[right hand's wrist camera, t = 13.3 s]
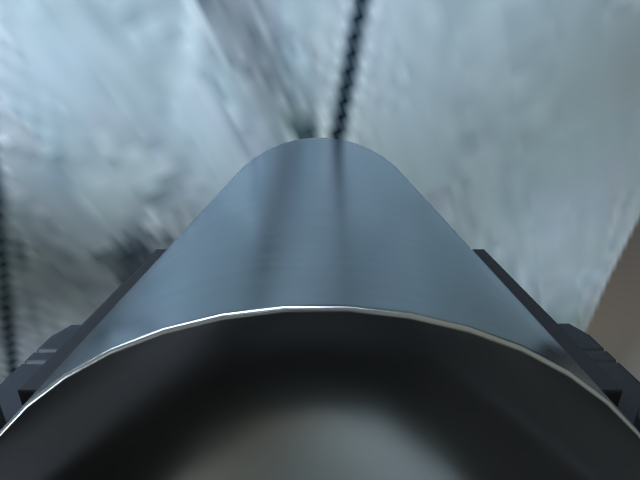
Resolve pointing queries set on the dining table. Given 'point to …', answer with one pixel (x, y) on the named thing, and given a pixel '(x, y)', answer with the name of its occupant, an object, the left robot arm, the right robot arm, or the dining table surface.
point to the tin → (319, 351)
